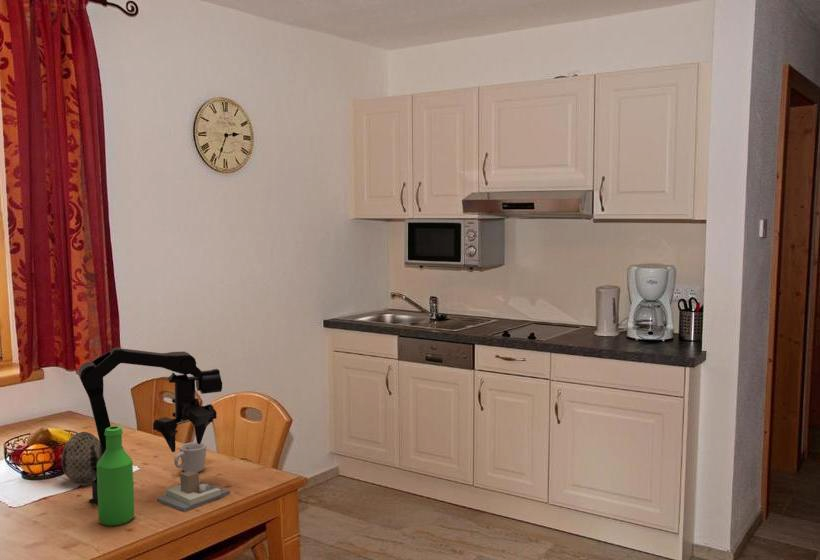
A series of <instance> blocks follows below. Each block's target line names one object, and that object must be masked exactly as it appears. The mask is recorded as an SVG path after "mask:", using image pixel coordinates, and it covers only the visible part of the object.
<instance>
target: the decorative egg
mask: <svg viewBox="0 0 820 560" xmlns="http://www.w3.org/2000/svg"><path fill="white" fill-rule="evenodd" d="M99 460H100V441H99V438H98V437H97V436H95V435H94V434H92V433H91V432H88V431H80V432H77V433H75V434H73V435H72V436H71V437H70V438H69V439H68V440H67V441H66V443H65V445H64V447H63V451H62V454H61V467H62V471H63V473H64V474H65V477H67V478H68V479H69V480H71V481H73V482H75V483H81V484H82V483H87V482H90V481H93V479H94V480H95V477H94V474H93V471H92V470H93V468H94V467H95V466H96V465H97V463H98V461H99Z"/></svg>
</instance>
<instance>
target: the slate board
mask: <svg viewBox="0 0 820 560" xmlns="http://www.w3.org/2000/svg"><path fill="white" fill-rule="evenodd" d="M206 484H208V485H210V490H212V489H215V488H218V489H221V495H219V496H216V497H213V498H210V499H207V500H205V501H202V502H199V503H196V504H193V505H188V504H186V503H184V502H181V501H179V500H177V499H174V498H172V497H170V496H168V495H166V494H165V495H162V496H160V497H157V498H156V502H157V503H158V504H162V505H165V506H167V507H170V508H172V509H175V510H178V511H181V512H183V513H186V512H188V511H190V510H194V509H196V508H197V507H201V506H203V505H206V504H208V503H211V502H213V501H216V500H218V499H220V498H223V497H226V496H228V495H231V490H230V489H226V488H223V487H220V486H217V485H214V484H211V483H207V482H205V481H201V482H200V481H199V494H200V493H203V492H206Z"/></svg>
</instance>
